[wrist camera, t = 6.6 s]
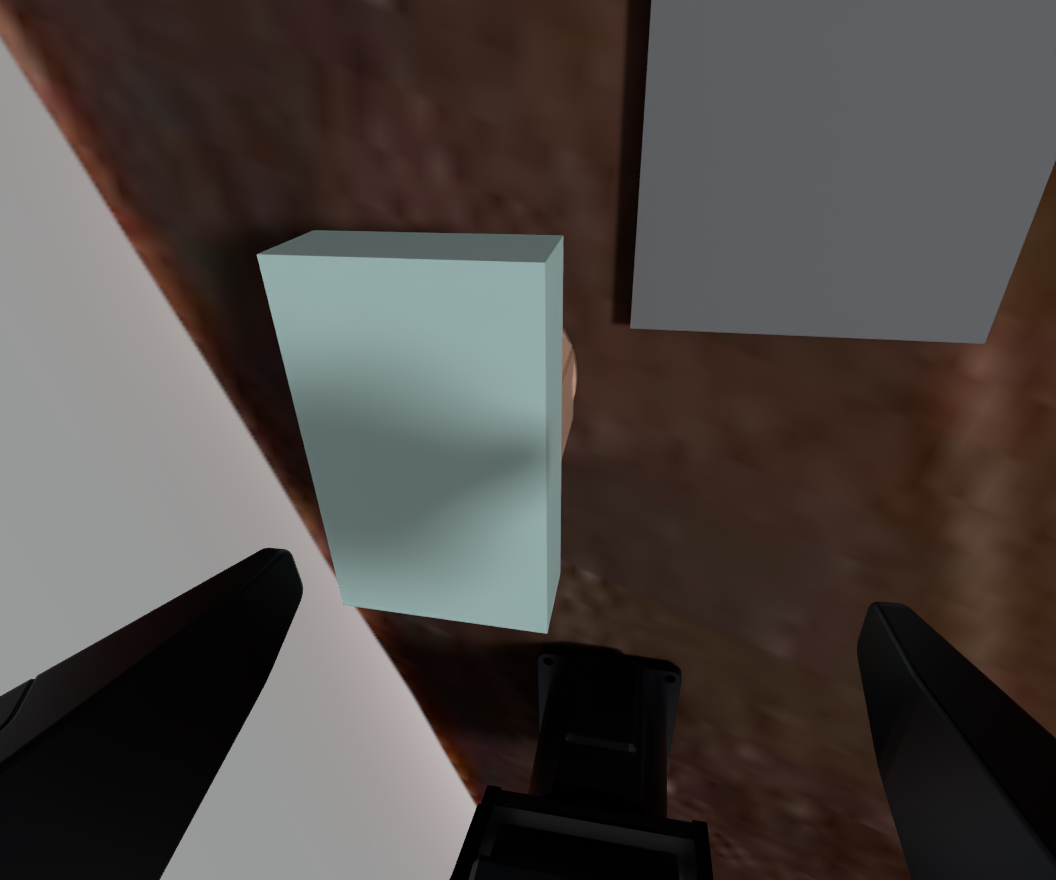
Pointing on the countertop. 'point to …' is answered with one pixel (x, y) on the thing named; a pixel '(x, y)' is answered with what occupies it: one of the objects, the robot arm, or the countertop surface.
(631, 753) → the robot arm
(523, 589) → the pale teal block
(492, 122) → the countertop surface
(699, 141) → the mat
